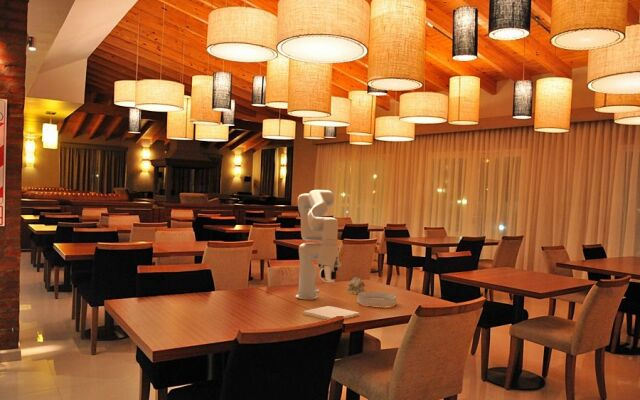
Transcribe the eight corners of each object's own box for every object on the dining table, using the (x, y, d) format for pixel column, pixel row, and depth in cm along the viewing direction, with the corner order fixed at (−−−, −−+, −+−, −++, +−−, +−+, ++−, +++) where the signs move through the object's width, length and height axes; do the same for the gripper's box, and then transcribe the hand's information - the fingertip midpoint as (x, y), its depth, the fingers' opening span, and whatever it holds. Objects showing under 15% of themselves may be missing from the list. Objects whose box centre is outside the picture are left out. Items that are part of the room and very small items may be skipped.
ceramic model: (343, 291, 328) (343, 275, 328) (358, 290, 334) (358, 274, 334) (355, 295, 316) (356, 279, 316) (370, 294, 321) (371, 278, 321)
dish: (373, 298, 310) (374, 290, 309) (404, 305, 294) (404, 296, 294) (348, 302, 294) (349, 293, 294) (379, 310, 278) (380, 300, 278)
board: (328, 308, 275) (328, 305, 275) (359, 315, 262) (359, 312, 262) (303, 314, 260) (303, 311, 260) (334, 321, 247) (334, 318, 247)
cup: (339, 282, 263) (340, 266, 263) (323, 283, 257) (324, 267, 257) (331, 280, 269) (331, 264, 269) (315, 281, 263) (315, 265, 263)
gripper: (311, 241, 265) (310, 276, 265) (338, 244, 254) (336, 281, 254) (321, 241, 271) (320, 275, 271) (347, 243, 260) (346, 280, 260)
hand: (328, 278), depth 263 cm, fingers closed on cup, 6 cm apart
